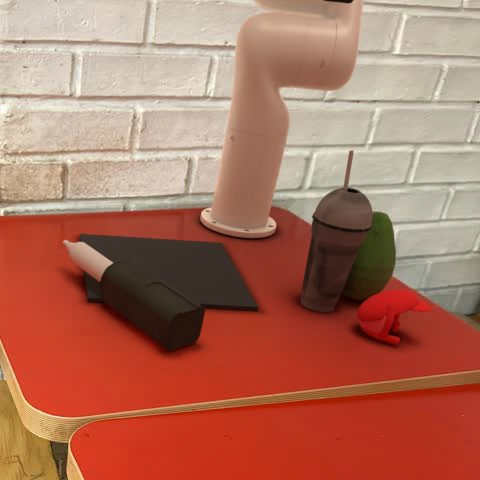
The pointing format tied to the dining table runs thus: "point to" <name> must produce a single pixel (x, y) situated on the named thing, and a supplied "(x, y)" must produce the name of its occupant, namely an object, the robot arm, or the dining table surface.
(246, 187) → the robot arm
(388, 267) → the fruit
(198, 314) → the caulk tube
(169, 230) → the dining table surface
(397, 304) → the red animal figurine
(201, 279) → the mat
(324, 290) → the beverage cup
